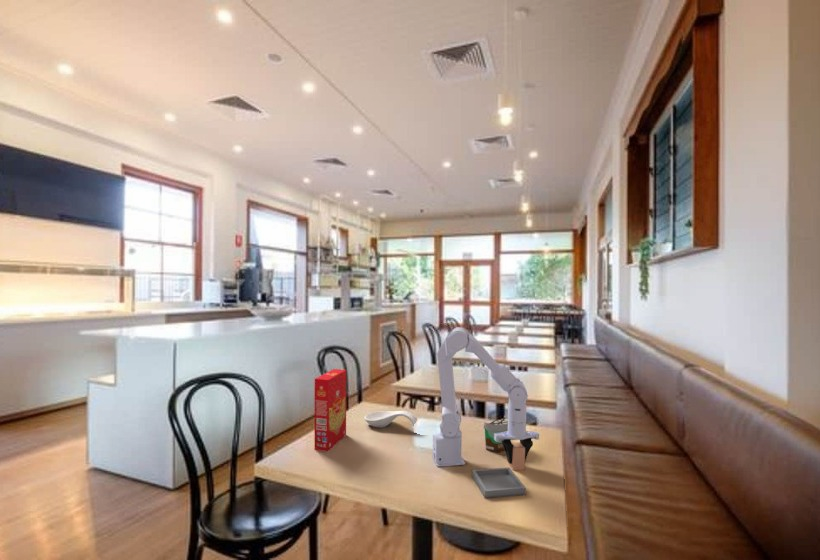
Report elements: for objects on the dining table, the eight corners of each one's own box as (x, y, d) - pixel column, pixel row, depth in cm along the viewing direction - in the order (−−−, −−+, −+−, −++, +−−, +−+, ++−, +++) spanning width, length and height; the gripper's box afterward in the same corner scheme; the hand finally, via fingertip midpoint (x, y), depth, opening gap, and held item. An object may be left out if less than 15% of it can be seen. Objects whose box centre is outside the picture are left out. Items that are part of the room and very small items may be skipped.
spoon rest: (359, 427, 163) (359, 409, 163) (374, 417, 173) (374, 401, 173) (412, 438, 152) (412, 419, 152) (424, 427, 163) (424, 409, 163)
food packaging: (328, 451, 140) (328, 380, 140) (314, 449, 142) (314, 378, 141) (346, 434, 155) (346, 369, 154) (333, 433, 156) (333, 368, 155)
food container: (497, 457, 137) (497, 428, 137) (483, 450, 142) (483, 422, 142) (519, 447, 145) (519, 419, 145) (505, 441, 150) (505, 414, 149)
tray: (485, 498, 112) (485, 491, 112) (472, 476, 124) (472, 469, 124) (525, 494, 114) (525, 488, 114) (509, 473, 126) (509, 467, 126)
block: (512, 470, 128) (513, 448, 128) (507, 464, 132) (508, 443, 132) (524, 469, 129) (525, 447, 129) (519, 463, 133) (519, 442, 133)
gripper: (532, 414, 135) (531, 454, 135) (491, 416, 133) (490, 457, 133) (542, 422, 128) (541, 464, 129) (498, 424, 126) (498, 467, 126)
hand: (516, 461), depth 130 cm, fingers closed on block, 4 cm apart
